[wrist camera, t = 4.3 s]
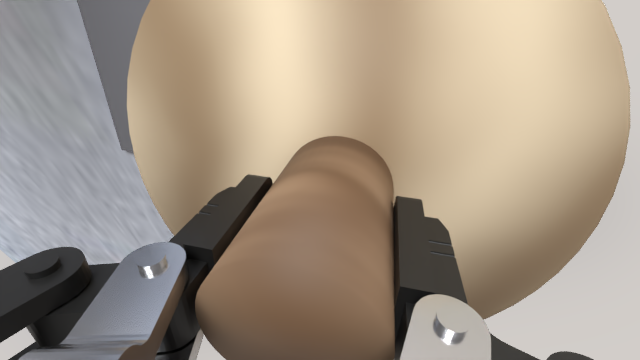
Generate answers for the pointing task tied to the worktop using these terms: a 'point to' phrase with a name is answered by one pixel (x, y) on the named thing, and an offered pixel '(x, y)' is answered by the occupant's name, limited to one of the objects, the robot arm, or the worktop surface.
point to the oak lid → (375, 151)
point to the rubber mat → (114, 52)
